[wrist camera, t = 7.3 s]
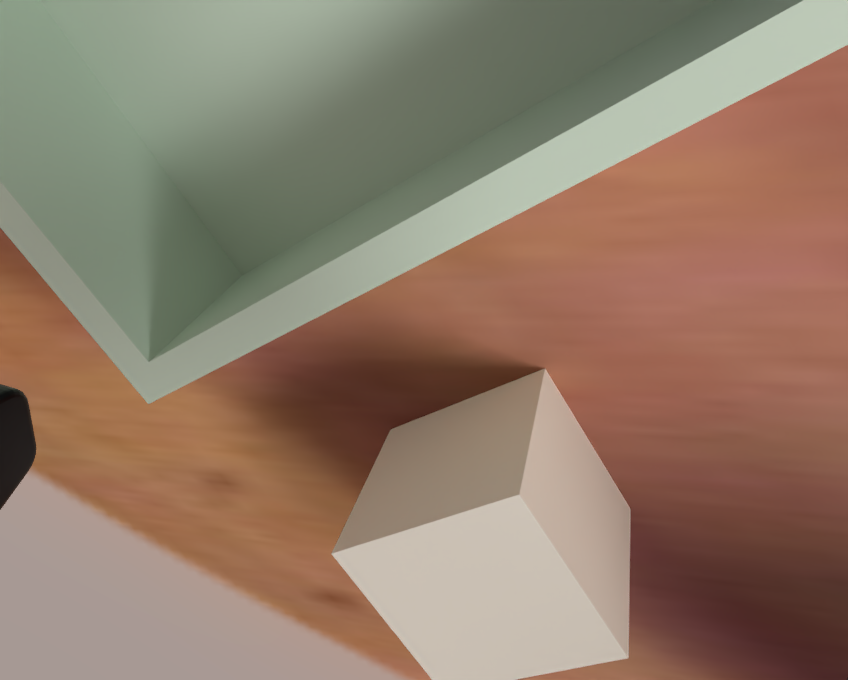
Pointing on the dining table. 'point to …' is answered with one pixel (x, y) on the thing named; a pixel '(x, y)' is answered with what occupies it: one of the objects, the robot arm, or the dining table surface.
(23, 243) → the tote
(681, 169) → the dining table surface
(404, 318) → the dining table surface
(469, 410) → the cream block
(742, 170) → the dining table surface
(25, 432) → the robot arm
